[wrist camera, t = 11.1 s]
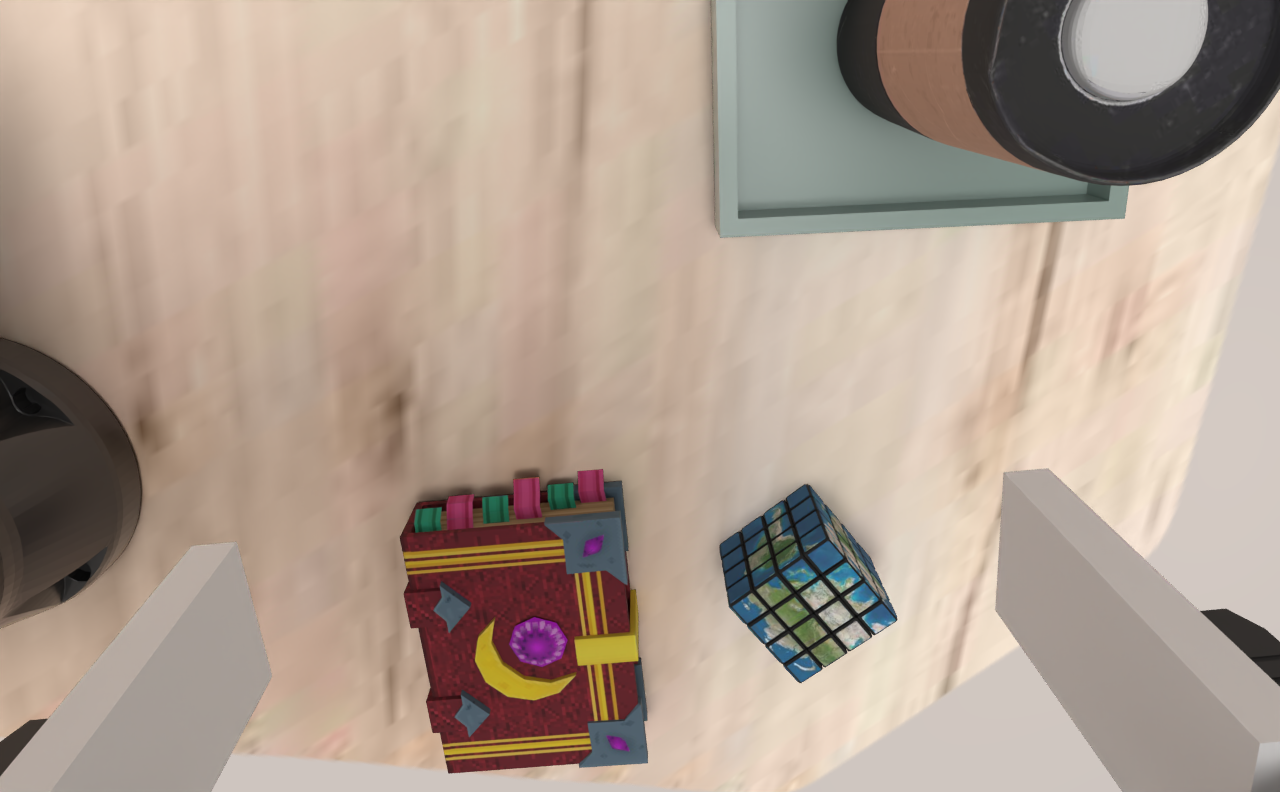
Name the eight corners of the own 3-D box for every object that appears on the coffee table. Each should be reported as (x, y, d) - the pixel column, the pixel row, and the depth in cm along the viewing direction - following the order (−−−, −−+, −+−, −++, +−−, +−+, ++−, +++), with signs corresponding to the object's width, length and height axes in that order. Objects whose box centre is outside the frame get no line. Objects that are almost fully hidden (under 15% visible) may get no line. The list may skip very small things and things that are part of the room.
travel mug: (1031, -30, 40) (1378, -101, 21) (966, 147, 43) (1225, 224, 24) (862, -80, 39) (1066, -197, 21) (806, 104, 42) (943, 149, 23)
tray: (715, 225, 45) (720, 237, 42) (707, -157, 39) (713, -173, 36) (1093, 207, 44) (1124, 218, 41) (1140, -180, 39) (1179, -198, 36)
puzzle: (807, 481, 49) (828, 537, 44) (871, 558, 51) (900, 621, 45) (717, 545, 51) (727, 606, 45) (782, 617, 52) (800, 686, 47)
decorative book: (458, 723, 55) (441, 785, 50) (409, 476, 50) (385, 521, 45) (649, 708, 55) (650, 769, 50) (621, 458, 49) (619, 501, 44)
